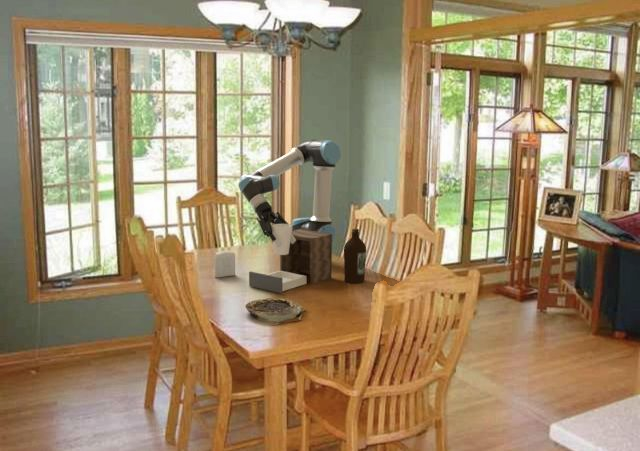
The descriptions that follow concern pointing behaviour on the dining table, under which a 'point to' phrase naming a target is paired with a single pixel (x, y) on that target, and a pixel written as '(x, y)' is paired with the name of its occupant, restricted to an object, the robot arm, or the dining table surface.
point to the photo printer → (224, 264)
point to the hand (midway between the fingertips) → (287, 243)
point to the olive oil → (354, 259)
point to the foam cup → (282, 238)
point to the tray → (276, 281)
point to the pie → (274, 310)
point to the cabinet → (309, 255)
